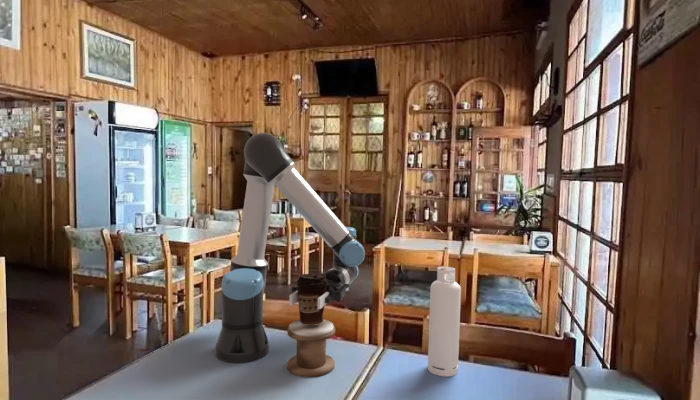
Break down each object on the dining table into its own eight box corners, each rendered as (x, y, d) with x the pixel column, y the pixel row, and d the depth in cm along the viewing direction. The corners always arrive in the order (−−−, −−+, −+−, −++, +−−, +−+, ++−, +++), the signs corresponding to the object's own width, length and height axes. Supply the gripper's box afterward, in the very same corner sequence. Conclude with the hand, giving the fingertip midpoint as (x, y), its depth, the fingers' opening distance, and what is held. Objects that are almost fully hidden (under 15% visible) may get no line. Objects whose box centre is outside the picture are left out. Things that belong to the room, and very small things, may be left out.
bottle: (449, 361, 123) (453, 264, 121) (463, 375, 115) (467, 271, 113) (423, 364, 121) (426, 265, 119) (434, 377, 113) (438, 272, 111)
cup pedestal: (277, 365, 118) (277, 325, 118) (312, 351, 128) (312, 314, 127) (309, 382, 110) (309, 338, 109) (344, 365, 119) (345, 325, 118)
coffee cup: (322, 329, 113) (323, 280, 112) (291, 326, 114) (292, 278, 113) (330, 318, 121) (331, 272, 120) (302, 315, 123) (302, 270, 122)
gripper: (365, 296, 132) (341, 320, 110) (304, 289, 138) (269, 311, 116) (365, 272, 131) (341, 291, 109) (304, 266, 137) (270, 284, 115)
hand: (304, 302), depth 113 cm, fingers closed on coffee cup, 7 cm apart
